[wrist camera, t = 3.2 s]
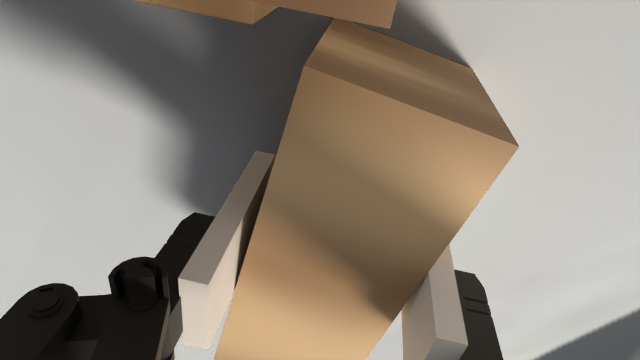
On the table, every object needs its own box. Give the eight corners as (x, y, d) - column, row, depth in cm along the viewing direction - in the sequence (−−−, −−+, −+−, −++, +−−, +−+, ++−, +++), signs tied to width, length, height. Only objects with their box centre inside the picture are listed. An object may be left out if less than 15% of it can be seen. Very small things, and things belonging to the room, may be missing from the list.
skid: (348, 286, 20) (336, 399, 15) (256, 254, 20) (213, 359, 15) (471, 68, 13) (519, 146, 8) (335, 15, 13) (303, 64, 8)
